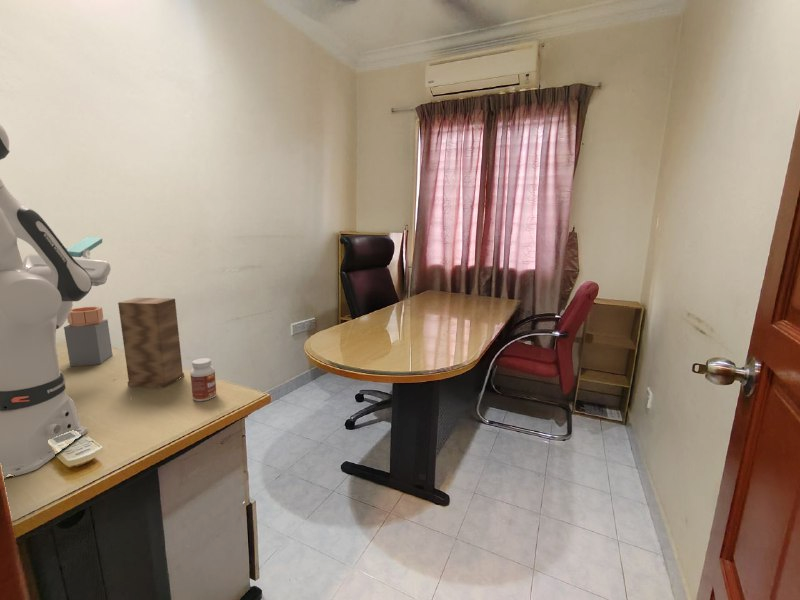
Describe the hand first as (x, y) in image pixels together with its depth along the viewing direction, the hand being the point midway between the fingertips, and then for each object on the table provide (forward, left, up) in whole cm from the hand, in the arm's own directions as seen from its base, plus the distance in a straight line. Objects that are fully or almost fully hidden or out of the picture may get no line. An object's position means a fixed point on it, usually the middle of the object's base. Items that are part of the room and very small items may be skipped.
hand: (76, 250), depth 119 cm
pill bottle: (-32, -41, -40) cm, 66 cm away
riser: (+9, +4, -40) cm, 41 cm away
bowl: (+9, +4, -26) cm, 28 cm away
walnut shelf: (-16, -24, -40) cm, 49 cm away
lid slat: (+7, +1, 0) cm, 7 cm away
